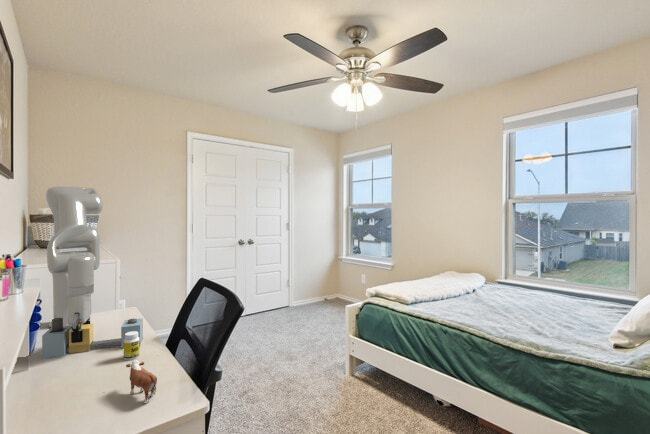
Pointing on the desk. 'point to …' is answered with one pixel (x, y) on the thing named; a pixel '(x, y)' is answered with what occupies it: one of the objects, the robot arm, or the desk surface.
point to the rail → (103, 344)
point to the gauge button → (57, 324)
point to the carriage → (86, 340)
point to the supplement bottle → (131, 345)
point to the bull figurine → (142, 379)
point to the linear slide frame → (59, 341)
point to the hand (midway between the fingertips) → (81, 336)
